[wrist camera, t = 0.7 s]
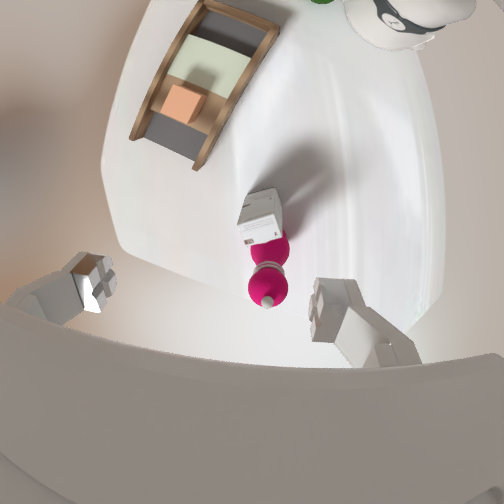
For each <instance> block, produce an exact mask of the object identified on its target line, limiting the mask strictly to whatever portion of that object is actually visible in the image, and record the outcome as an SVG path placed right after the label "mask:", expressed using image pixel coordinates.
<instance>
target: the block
mask: <svg viewBox="0 0 504 504" xmlns="http://www.w3.org/2000/svg"><path fill="white" fill-rule="evenodd" d="M206 98H207V96H206V95H203V94H201V93H199V92H196V91H194V90H192V89H189V88H187V87H184V86H182V85H176V84H173V86H172V88H171V90H170V92H169V94H168V96H167V98H166V100H165V102H164V105H163V107H162V109H161V111H160V113H163V114H165V115H167V116H170V117H172V118H174V119H177V120H179V121H181V122H183V123H185V124H189V123H193V122H195V120H196V117H197V116H198V114H199V112H200V110H201V108H202V106H203V104H204V102H205V100H206Z"/></svg>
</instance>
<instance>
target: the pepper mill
mask: <svg viewBox="0 0 504 504" xmlns="http://www.w3.org/2000/svg"><path fill="white" fill-rule="evenodd" d="M282 235H283V237H282V238H278V239H274V240H270V241H268V242H266V243H261V244H255V245H251V256H252V259H253V261H254V262H255V264H256V265H257V266H256V267H255V269H254V272H253V276H252V277H251V279H250V281H249V284H248V291H249V295H250V297H251V299H252V300H253V301H254V302H255V303H256V304H258V305H260V306H262V307H264V308H266V309H268V308H271V307H274V306H277V305H278V304H280V303H281V302H282V301H283V300H284V299H285V298H286V296H287V293H288V283H287V280H286V278H285V276H284V275H285V274H284V270H283V268H282V265H283V264H284V263H285V262H286V260H287V258H288V256H289V250H290V247H289V243H288V241H287V239H286V234H285V232H284V231H283V229H282Z"/></svg>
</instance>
